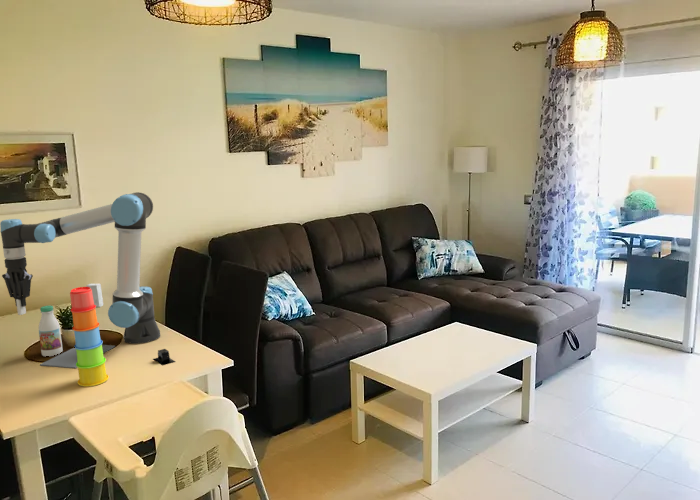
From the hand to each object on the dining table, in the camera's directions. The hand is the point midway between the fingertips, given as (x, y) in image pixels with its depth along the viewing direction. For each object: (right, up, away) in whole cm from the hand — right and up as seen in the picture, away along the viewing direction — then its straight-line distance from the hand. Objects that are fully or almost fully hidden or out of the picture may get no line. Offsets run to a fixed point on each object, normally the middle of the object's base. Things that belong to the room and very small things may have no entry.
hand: (22, 313), depth 231 cm
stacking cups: (+42, -21, -28) cm, 55 cm away
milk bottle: (+12, -17, 0) cm, 21 cm away
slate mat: (+25, -17, -3) cm, 30 cm away
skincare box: (-1, -4, +70) cm, 70 cm away
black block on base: (+62, -18, -10) cm, 65 cm away
